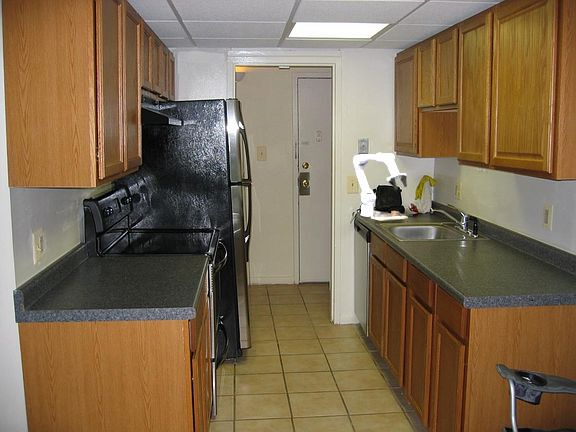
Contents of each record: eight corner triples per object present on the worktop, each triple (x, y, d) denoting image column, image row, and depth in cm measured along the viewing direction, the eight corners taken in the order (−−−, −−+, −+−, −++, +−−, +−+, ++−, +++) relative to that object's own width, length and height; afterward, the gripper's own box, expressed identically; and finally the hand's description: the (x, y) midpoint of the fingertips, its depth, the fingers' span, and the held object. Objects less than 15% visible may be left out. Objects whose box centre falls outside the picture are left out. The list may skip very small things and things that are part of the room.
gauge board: (370, 218, 439) (370, 211, 439) (397, 215, 448) (397, 208, 447) (380, 220, 428) (380, 213, 427) (408, 218, 436) (408, 211, 435)
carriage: (391, 215, 443) (391, 211, 443) (395, 215, 445) (395, 210, 444) (399, 217, 434) (399, 213, 434) (403, 216, 435) (403, 212, 435)
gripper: (387, 169, 425) (395, 188, 421) (405, 165, 430) (412, 183, 427) (382, 174, 431) (390, 191, 428) (400, 169, 436) (408, 187, 433)
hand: (401, 187), depth 428 cm, fingers open, 7 cm apart
